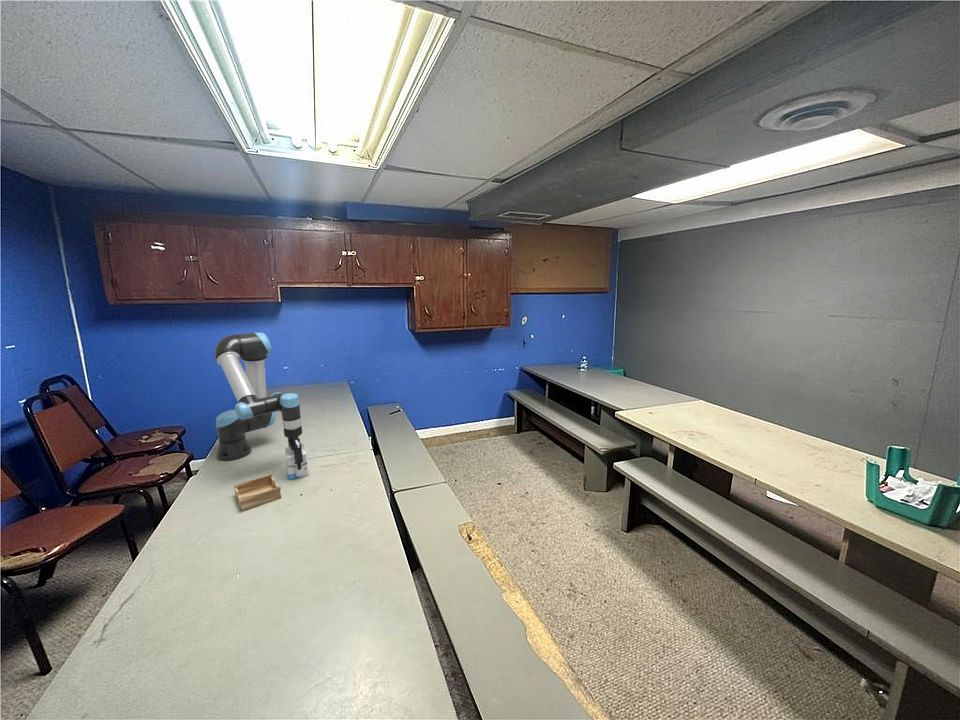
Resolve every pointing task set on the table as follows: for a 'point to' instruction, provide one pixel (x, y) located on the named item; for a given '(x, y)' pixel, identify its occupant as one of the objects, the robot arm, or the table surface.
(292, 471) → the ink box
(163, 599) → the table surface
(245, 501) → the crate
